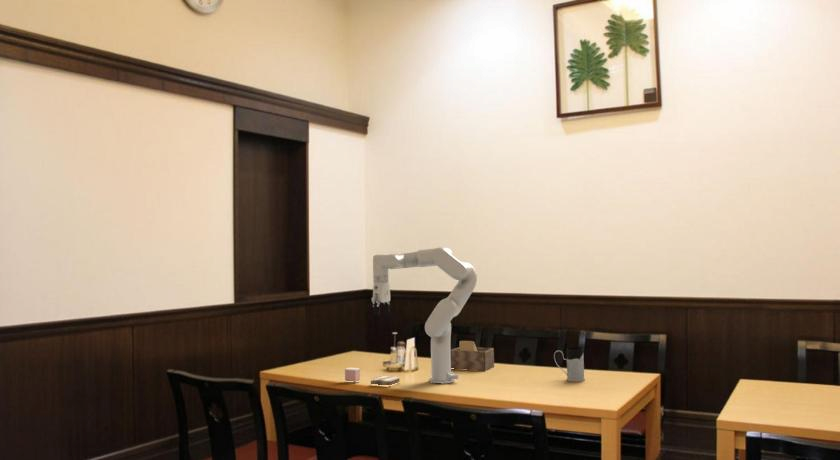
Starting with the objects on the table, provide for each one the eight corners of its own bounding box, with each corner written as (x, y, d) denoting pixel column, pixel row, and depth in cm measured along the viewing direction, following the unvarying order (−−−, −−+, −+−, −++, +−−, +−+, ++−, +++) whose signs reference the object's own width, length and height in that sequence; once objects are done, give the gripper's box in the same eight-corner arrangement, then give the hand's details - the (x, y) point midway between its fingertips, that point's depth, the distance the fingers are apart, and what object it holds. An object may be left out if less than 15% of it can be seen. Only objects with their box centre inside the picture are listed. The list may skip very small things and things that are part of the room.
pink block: (359, 381, 325) (359, 368, 325) (355, 383, 321) (355, 369, 322) (349, 380, 328) (349, 367, 328) (345, 382, 324) (344, 368, 324)
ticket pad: (399, 383, 319) (399, 376, 319) (389, 387, 310) (389, 380, 310) (381, 382, 323) (381, 375, 323) (370, 386, 314) (370, 379, 314)
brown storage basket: (494, 367, 358) (493, 348, 359) (485, 371, 346) (484, 351, 347) (460, 365, 367) (460, 346, 367) (450, 369, 355) (450, 350, 355)
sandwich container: (485, 367, 362) (485, 339, 364) (474, 370, 349) (474, 341, 350) (471, 366, 366) (470, 338, 368) (459, 369, 353) (459, 340, 354)
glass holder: (585, 381, 313) (584, 349, 313) (554, 381, 316) (553, 349, 316) (584, 378, 321) (583, 346, 322) (554, 377, 324) (553, 346, 325)
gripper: (378, 280, 323) (379, 315, 322) (395, 278, 338) (396, 312, 338) (365, 280, 326) (366, 315, 326) (382, 278, 342) (383, 312, 341)
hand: (381, 313), depth 332 cm, fingers open, 9 cm apart
